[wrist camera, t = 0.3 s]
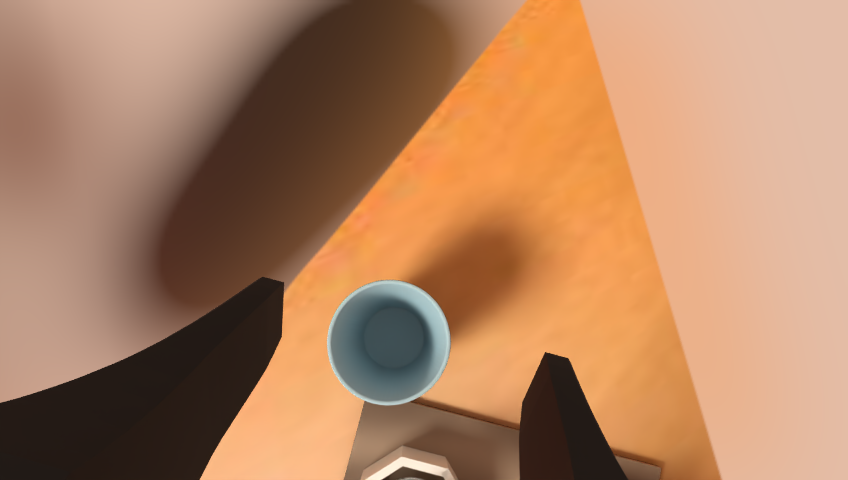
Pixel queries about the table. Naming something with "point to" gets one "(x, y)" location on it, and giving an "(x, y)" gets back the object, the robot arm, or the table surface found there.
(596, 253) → the table surface
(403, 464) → the housing
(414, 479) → the plunger
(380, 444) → the board
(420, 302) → the cup
